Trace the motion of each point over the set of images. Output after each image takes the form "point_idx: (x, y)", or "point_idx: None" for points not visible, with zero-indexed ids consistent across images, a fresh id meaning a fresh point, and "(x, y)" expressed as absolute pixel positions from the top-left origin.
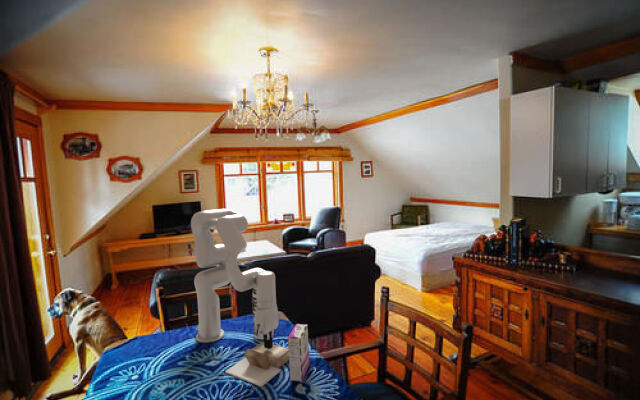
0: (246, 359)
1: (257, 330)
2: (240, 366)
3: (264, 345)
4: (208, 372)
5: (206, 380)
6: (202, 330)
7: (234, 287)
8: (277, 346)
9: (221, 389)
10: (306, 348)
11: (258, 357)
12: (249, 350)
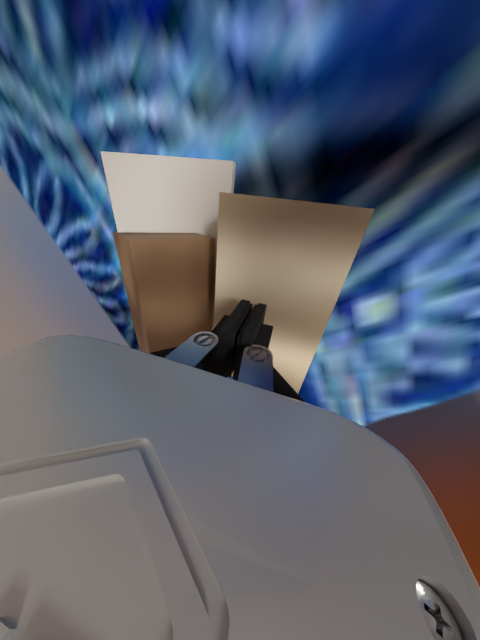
0: (217, 183)
1: (82, 352)
2: (161, 201)
3: (224, 315)
4: (49, 36)
5: (32, 109)
6: None
7: None
8: (312, 340)
9: (64, 229)
10: None
11: (136, 329)
12: (129, 260)
